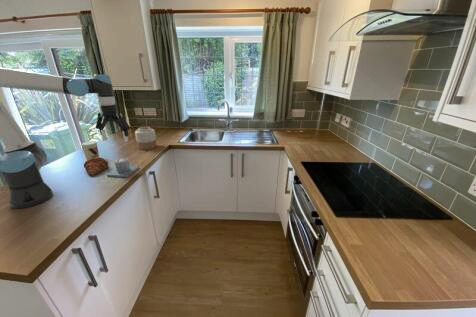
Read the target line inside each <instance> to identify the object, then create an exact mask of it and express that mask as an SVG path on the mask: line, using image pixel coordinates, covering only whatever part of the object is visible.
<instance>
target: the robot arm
mask: <svg viewBox="0 0 476 317" xmlns="http://www.w3.org/2000/svg"><path fill="white" fill-rule="evenodd" d="M0 88H5V89H17V90H24V91H34V92H44V93H52V94H62V95H63V94H64V95H69V96H70V95H72V96H76V97H83V96H86V95H87V94H88V95H89V94H97V96H98V101H99V104H100V110H101V112H97V119H96V123H95V129H98V130H99V134H100V135H101V138H102V142H106V141H107V140H108V137H107V132H106V129H105V128H106V125H107V123H108V122H114V123H116V125H117V126H118V127H119V128H120V129H121V130H122V131H121V132H122V137H123V142H124V143H127V142H129V132H128V131H130V130H131V127H130V124H128V122H127V120H126V119H125V117H124V114H123V113H122V112H121V113H118V112H117V111H118V109H117V105H116V100H115V94H114V88H113V83H112V80H111V76H110V75H108V74H93V78H83V77H82V78H80V77H79V78H77V77H68V76H62V75H54V74H49V73H48V74H47V73H41V72H40V73H39V72H33V71H26V70H18V69H13V68H5V67H0ZM0 142H2V144H3V145H4V146H5V147H4V150H3V152H4V153H5V154H3V155H0V173H1V175H2V177H3V179H4V181H5V184H6V187H8V190H9V195H8V197H9V198H8V199H9V200H8V204H9V205H10V207H11V208H12V209H26V208H30V207H34V206H38V205H40V204H42V203H44V202H47V201H49V200H50V199H51V198H52V197H53V195H54V192H53V190H52V188H50V187H49V185H48V184H47V183H45V181H44V180H43V177H42V174H41V171H40V169H41V168H42V167H43V166H44V165H45V164H46V162H47V152H46V150H44V149H43V148H42V147H40V146H38V145H37V143H36V142H35V140H30V139H29V138H28V136H27V135H26V134H25V132H24V131H23V130H22V128H21V127H20V126H19V124H18V122H17V121H16V120H15V118H14V117H13V116H12V114H11V112H9V110H8V108H7V107H6V105H5V104H4V103H3V101H2V100H1V99H0Z"/></svg>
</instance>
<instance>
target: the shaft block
mask: <svg viewBox="0 0 476 317" xmlns="http://www.w3.org/2000/svg"><path fill="white" fill-rule="evenodd" d="M120 159H121V158H120ZM122 161H125V160H124V159H121V160H119V162H122ZM129 166H130V170H129V171H128V172H125V173H118V172H117V169H116V168H115V169H114V170H113V171H111V172H109V173H107V175H106V176H107V177H108V178H109V177H110V178H123V179H126V178H128V177H129V176H130V175H132V174H134V173H135V172H136V171H138V170H139V169H140V166H137V165H136V166H134V165H129Z"/></svg>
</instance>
